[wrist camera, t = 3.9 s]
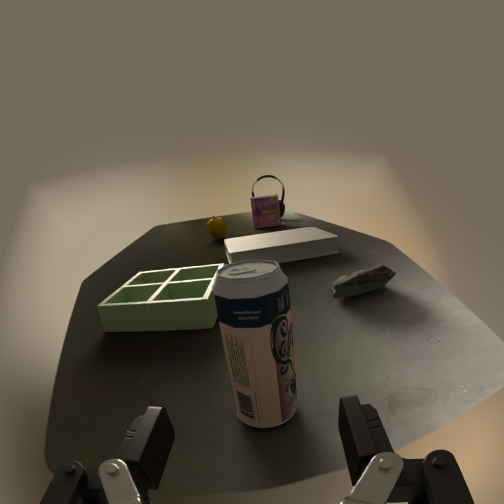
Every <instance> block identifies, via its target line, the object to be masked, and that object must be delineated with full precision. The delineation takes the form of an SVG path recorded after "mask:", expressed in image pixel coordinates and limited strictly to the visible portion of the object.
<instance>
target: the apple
mask: <svg viewBox="0 0 504 504" xmlns="http://www.w3.org/2000/svg"><path fill="white" fill-rule="evenodd" d="M213 217H214V216H213ZM207 228H208V231H209V233H210V234H211V236H212V237H214V238H216V239H221V238H223V237H224V235H225V232H226V224H225V221H224V220H223V219H222V218H212V219H211V220H210V221H209V222H208V224H207Z"/></svg>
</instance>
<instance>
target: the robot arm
mask: <svg viewBox="0 0 504 504" xmlns="http://www.w3.org/2000/svg"><path fill="white" fill-rule="evenodd" d="M338 425H339V432H340V436H341V440H342V444H343V448H344V452H345V456H346V460H347V465H348V469H349V473H350V477H351V481H352V486H354V488H353V490H352V491H351V493H350V494H349V496H347V497H345V498H344V499H343V500H342V501H341V503H340V504H386V503H396V502H397V503H398V502H408V504H474V501H473V499H472V497H471V494H470V492H469V489H468V487H467V484H466V482H465V480H464V477H463V475H462V473H461V470H460V468H459V466H458V464H457V462H456V459H455V457H454V456H453V454H452V453H450V452H449V451H446V450H435V451H433V452H431V453H429V454H428V455H427V456H426V457H425V458H424V459H405V458H402V457H400V456H399V455H398V454H396V453H395V452H394V451H393V449H392V447H391V444H390V442H389V439H388V437H387V434H386V432H385V429H384V427H383V425H382V422H381V420H380V417H379V415H378V413H377V410H376V409H375V408H373V407H372V406H371V405H370V404H365V405H361V404H360V402H359V399H358V397H357V395H354V396H349V397H343V398H340V405H339V419H338ZM128 430H129V431H127V433H126V435H125V436H126V437H124V439H123V441H122V443H121V445H120V447H119V449H118V451H117V453H116V455H115V457H114V459H110V460H107V461H105V462H103V463H102V464H101V465H100V467H86V468H84V467H83V466H82V464H81V463H80V462H78V461H76V460H68V461H65V462H64V463H62V464H61V465H60V466H59V468H58V470H57V472H56V474H55V475H54V477H53V479H52V481H51V483H50V485H49V487H48V489H47V491H46V493H45V495H44V496H43V498H42V500H41V502H40V504H152V502H151V500H150V498H149V496H148V494H147V493H148V490H149V489H154V490H158V487H159V484H160V481H161V478H162V474H163V471H164V468H165V465H166V462H167V459H168V456H169V453H170V450H171V447H172V444H173V441H174V437H175V433H174V428H173V426H172V423H171V421H170V418H169V416H168V413H167V411H166V409H165V408H164V407H148V408H147V410H146V412H145V414H144V416H138V417H137V418H136V419H135V420H134V421H133V422H132V424H131V426H130V427H129V429H128Z"/></svg>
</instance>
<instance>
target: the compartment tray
mask: <svg viewBox="0 0 504 504" xmlns="http://www.w3.org/2000/svg"><path fill="white" fill-rule="evenodd" d="M223 266H225V264H224V263H223V264H214V265H205V266H195V267H185V268H175V269H166V270H156V271H146V272H139V273H138V274H137V275H135V276H134V277H133V278H131V279H130V280H129V281H128V282H126V283H125V284H124V285H123V286H121V287H120V288H119V289H118V290H116V291H115V292H114V293H113V294H111V295H110V296H109V297H108V298H106V299H105V300H104V301H103V302H101V303H100V304H99V305H98V306H97V308H98V311H99V314H100V318H101V321H102V324H103V327H104V330H105V332H136V331H170V330H192V329H209V328H213V327H214V324H215V321H216V318H217V315H218V314H217V308H216V303H215V297H214V294H213V292H212V285H213V283H214V280H215V277H216V274H217V270H218V269H220V268H222V267H223Z"/></svg>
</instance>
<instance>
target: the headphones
mask: <svg viewBox="0 0 504 504" xmlns="http://www.w3.org/2000/svg"><path fill="white" fill-rule="evenodd" d="M266 177H271V178H275V179H277V178H276V177H275V176H271V175H265V176H262V177H260V178H258V179H257V181H259V180H260V179H262V178H266ZM277 180H278V181H279V182H280V180H279V179H277ZM257 181H256V182H257ZM256 182H255V183H256ZM255 183H254V185H255ZM281 184H282V182H281ZM254 185H253V187H254ZM282 186H283V184H282ZM253 187H252V197H255V196H254V193H253ZM278 201H279V209H280V218H281V217H283V215H284V212H285V205H284V203H283V201H284V186H283V193H282V199H281V200H278Z"/></svg>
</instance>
